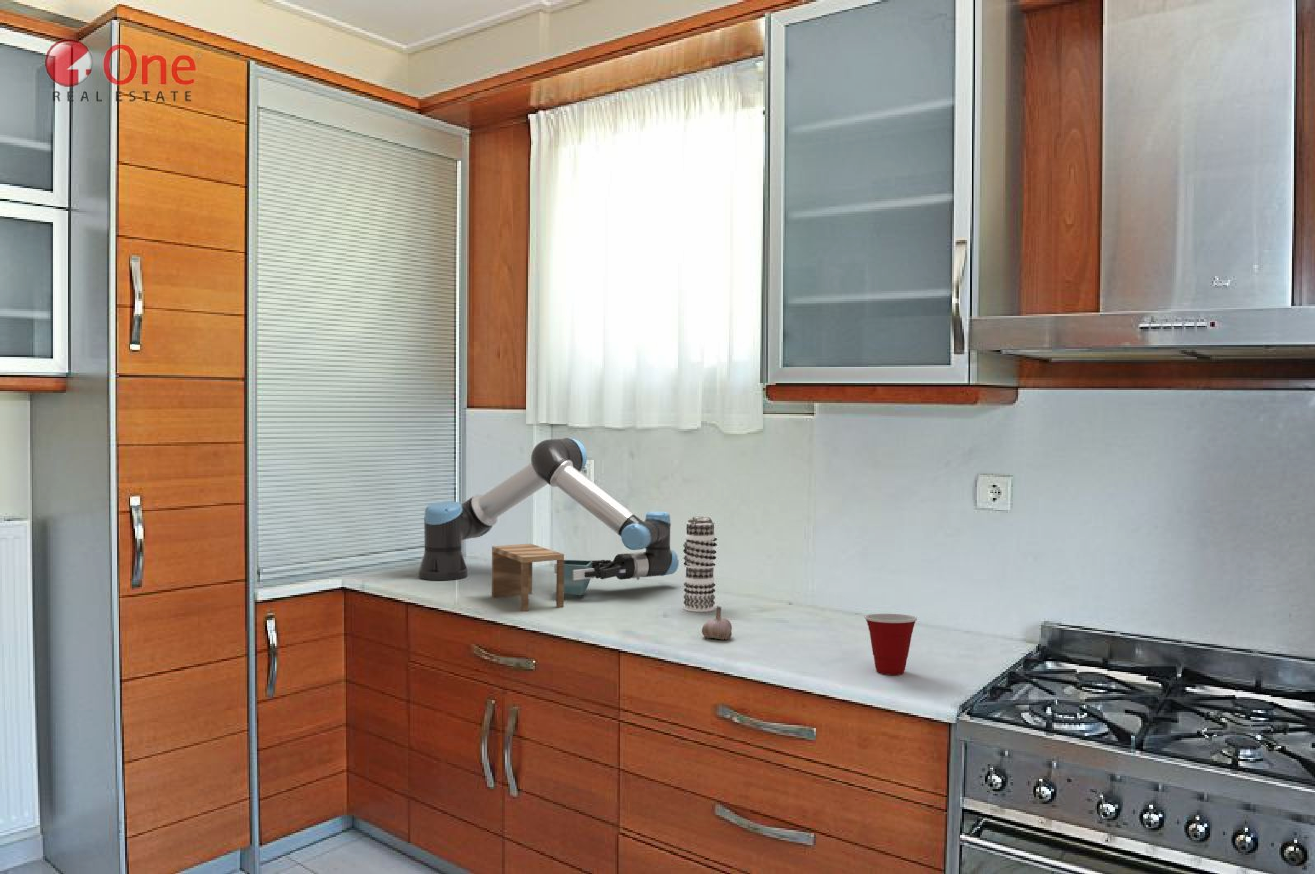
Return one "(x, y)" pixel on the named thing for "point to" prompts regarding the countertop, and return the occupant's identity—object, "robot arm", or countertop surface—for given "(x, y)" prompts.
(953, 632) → the countertop surface
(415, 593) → the countertop surface
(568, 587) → the flower pot
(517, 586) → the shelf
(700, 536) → the decorative candle
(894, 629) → the plastic cup
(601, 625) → the countertop surface
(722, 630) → the garlic bulb
